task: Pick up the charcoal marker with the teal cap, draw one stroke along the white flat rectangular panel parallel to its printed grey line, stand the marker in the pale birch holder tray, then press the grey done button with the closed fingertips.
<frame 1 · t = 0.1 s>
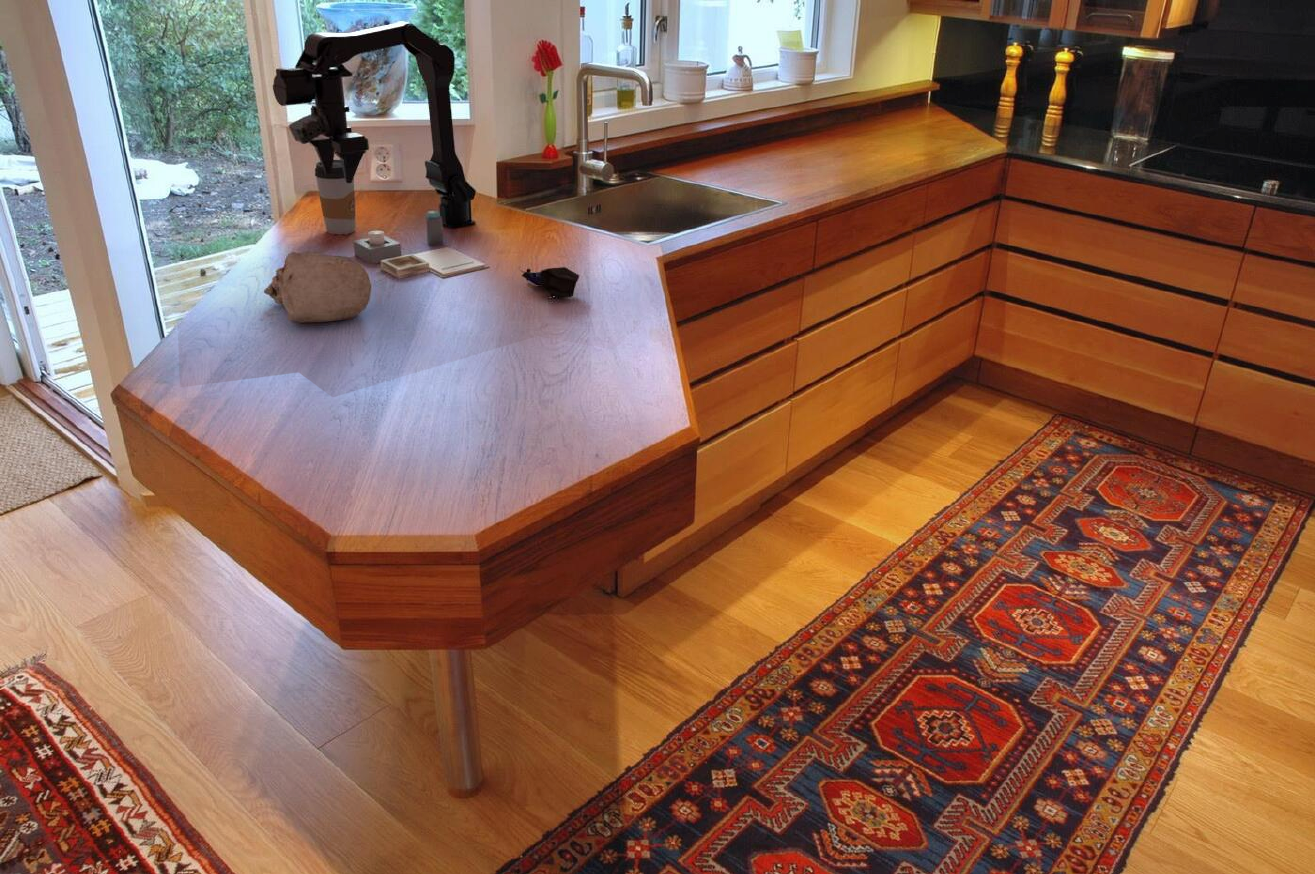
hand: (338, 178, 210), 15 cm above the counter, tool pointing down, fingers open, 9 cm apart
marker: (435, 244, 221), on the counter
decorative skull: (321, 314, 184), on the counter
done button: (376, 240, 210), point 3 cm above the counter, slide at 0.0 cm
button housing: (378, 256, 212), on the counter
holder tray: (405, 270, 205), on the counter
white flat rectangular panel: (446, 262, 210), on the counter
coffee cup: (341, 231, 226), on the counter
toy: (549, 293, 198), on the counter
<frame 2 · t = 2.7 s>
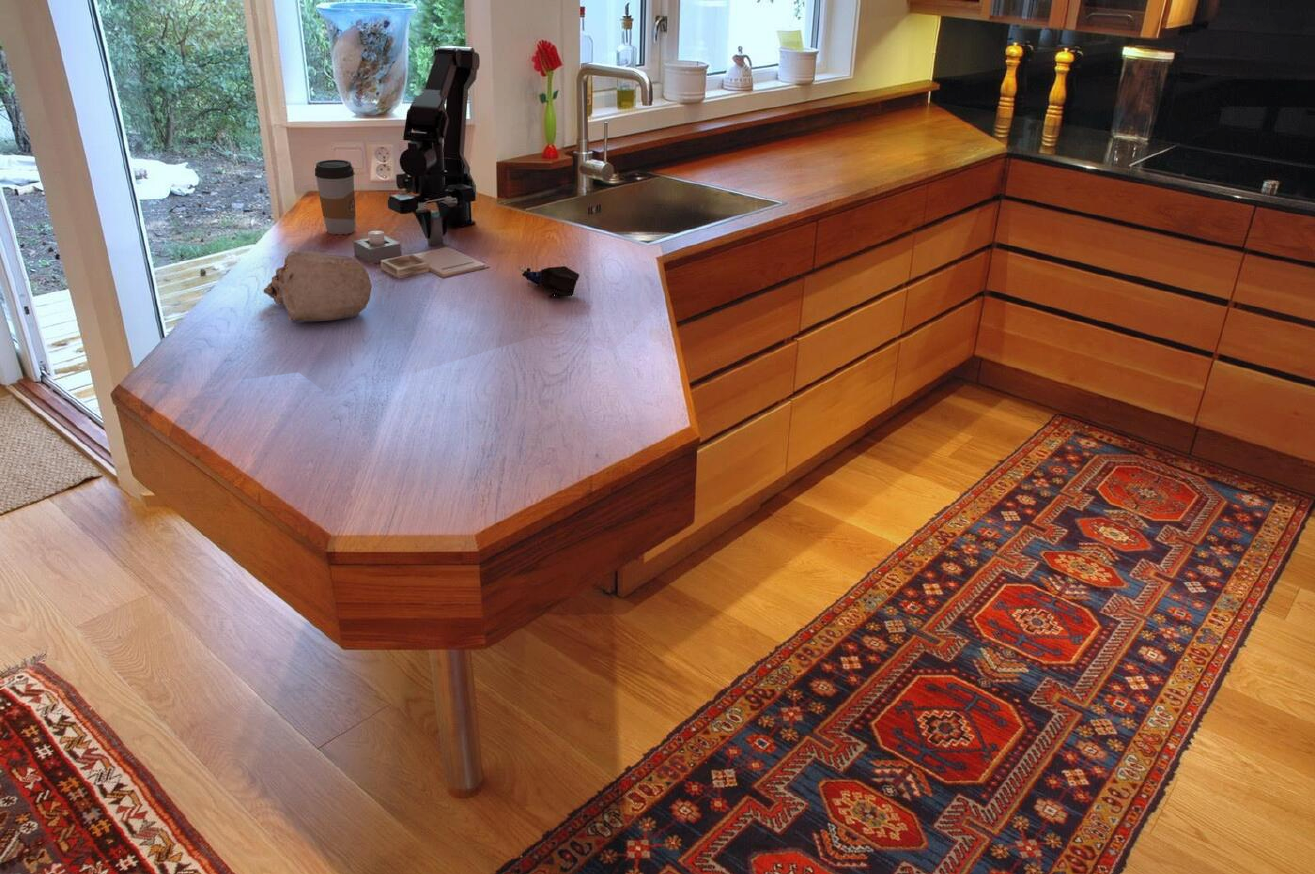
hand: (435, 237, 220), 2 cm above the counter, tool pointing down, fingers closed on marker, 3 cm apart
marker: (435, 244, 221), on the counter, touching gripper
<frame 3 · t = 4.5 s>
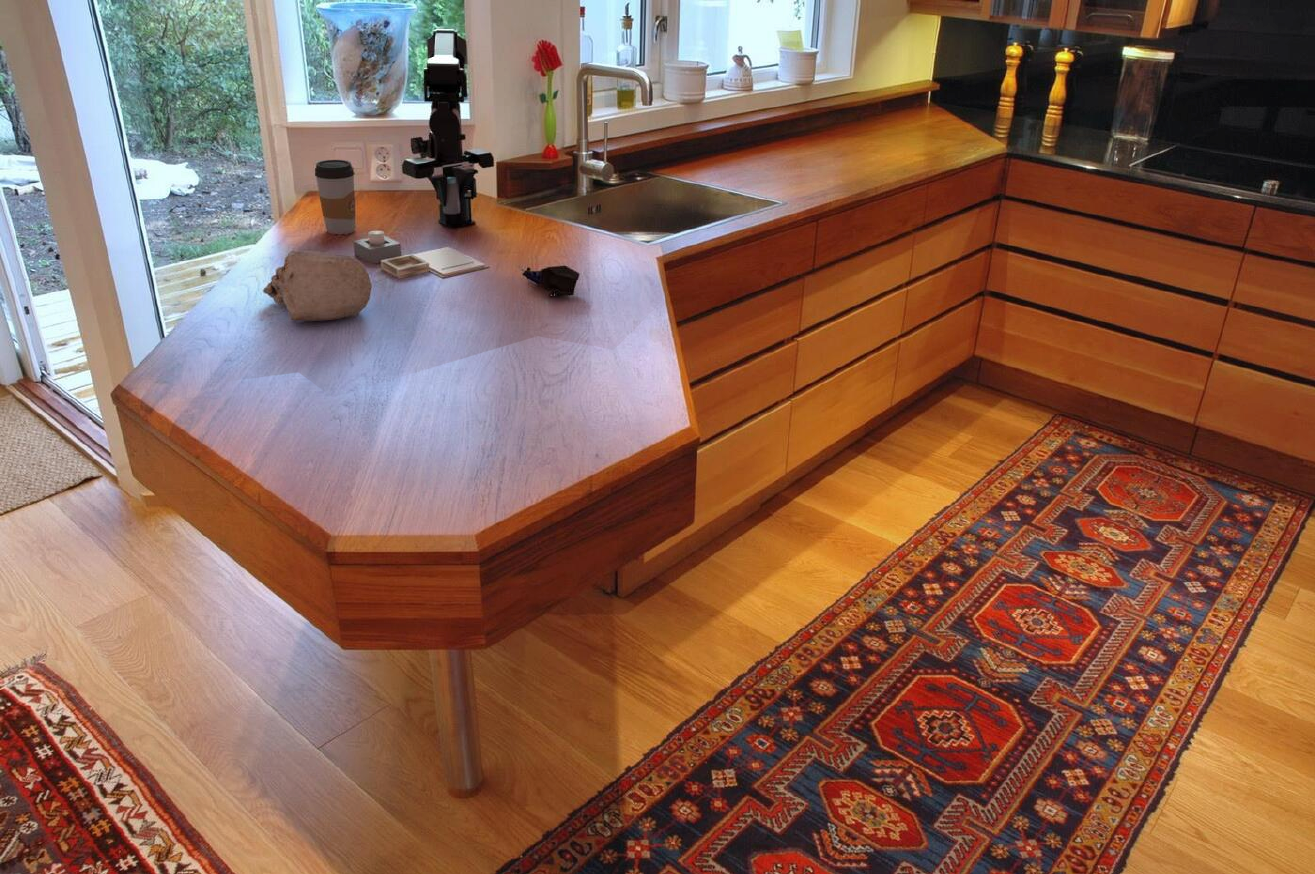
hand: (451, 204, 209), 11 cm above the counter, tool pointing down, fingers closed on marker, 3 cm apart
marker: (451, 212, 210), point 9 cm above the counter, touching gripper
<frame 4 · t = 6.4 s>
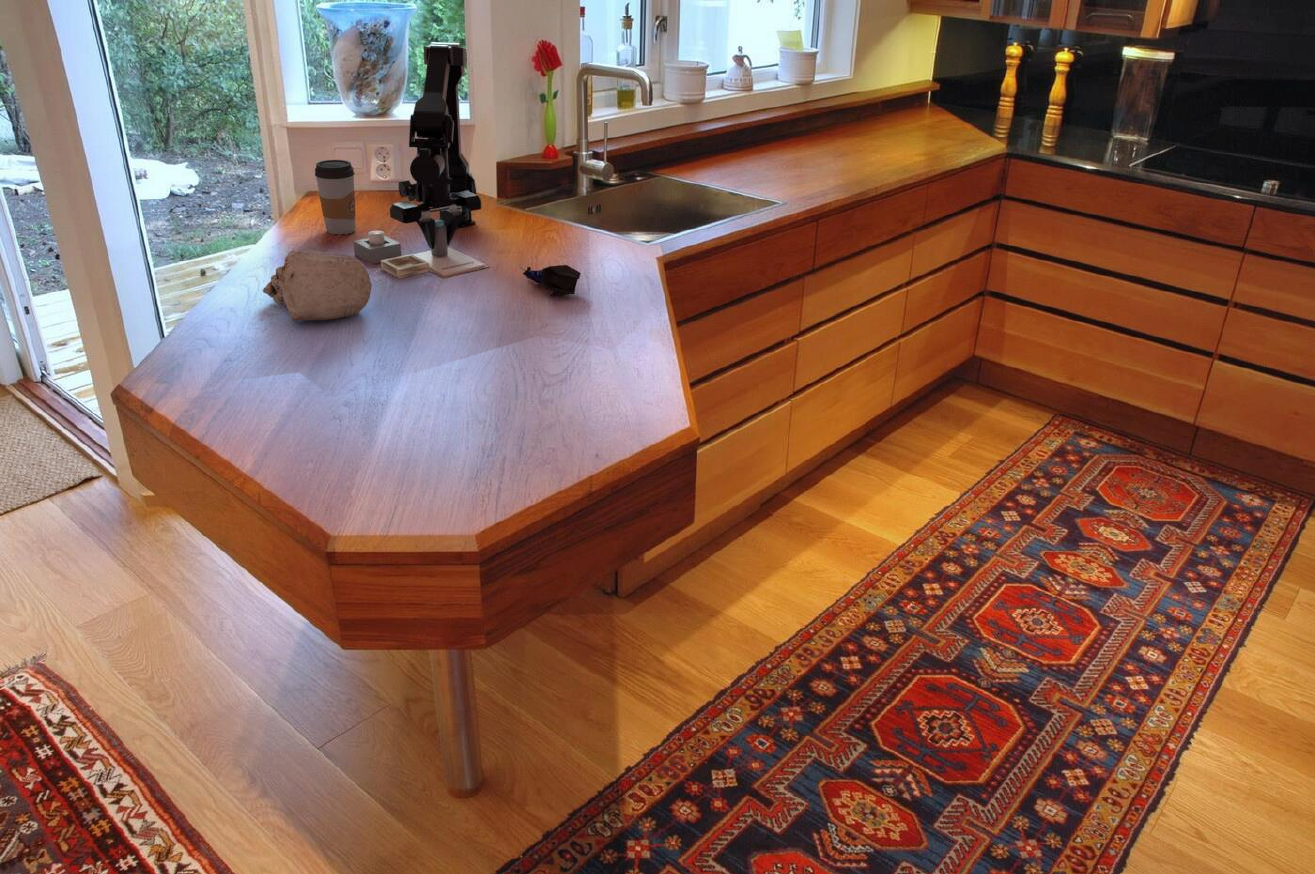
hand: (439, 247, 211), 3 cm above the counter, tool pointing down, fingers closed on marker, 3 cm apart
marker: (439, 254, 211), point 1 cm above the counter, touching gripper
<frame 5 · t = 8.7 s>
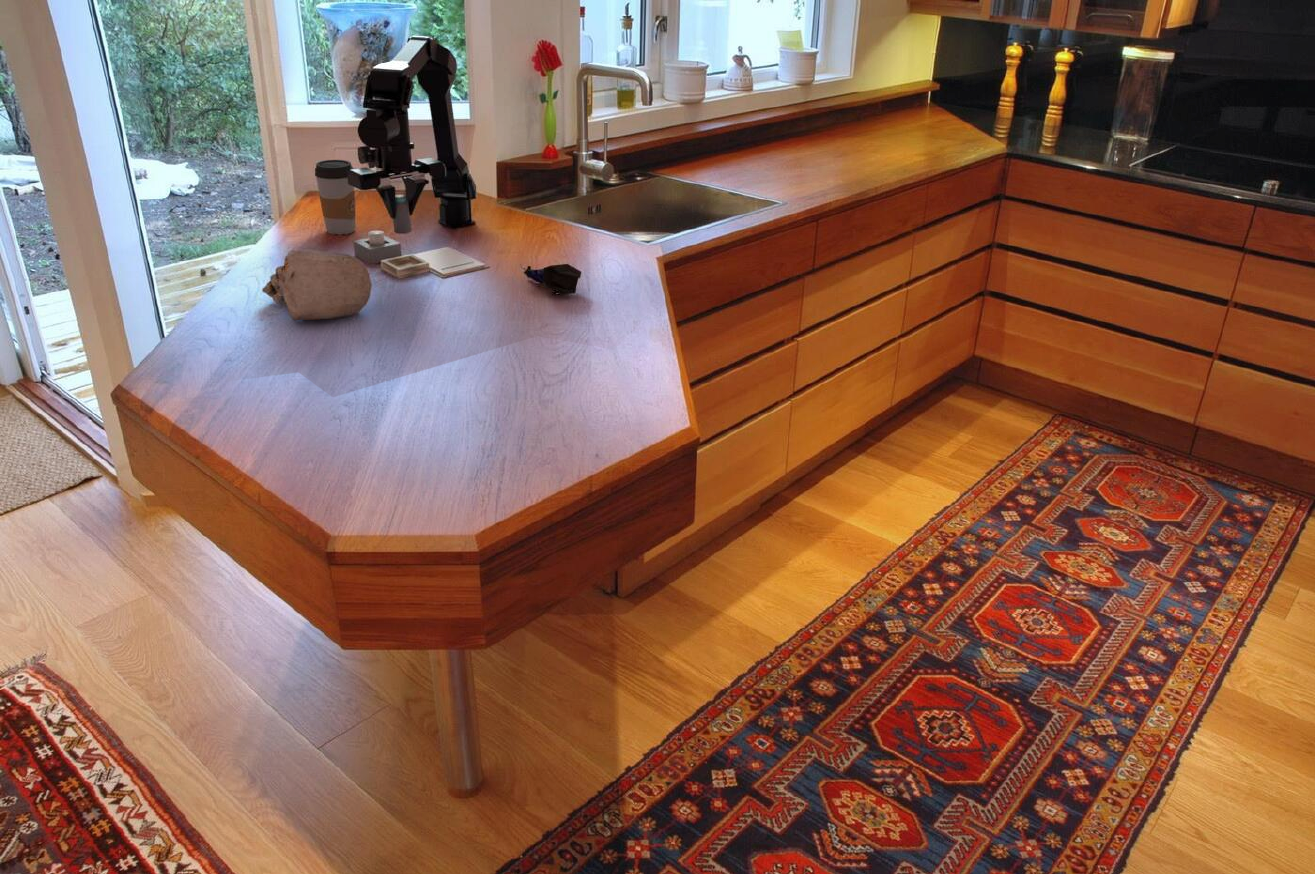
hand: (401, 216, 200), 11 cm above the counter, tool pointing down, fingers closed on marker, 3 cm apart
marker: (403, 231, 201), point 8 cm above the counter, touching gripper
when the fingers open (3 cm above the counter, at t = 10.3 s): marker stays where it is, resting on holder tray.
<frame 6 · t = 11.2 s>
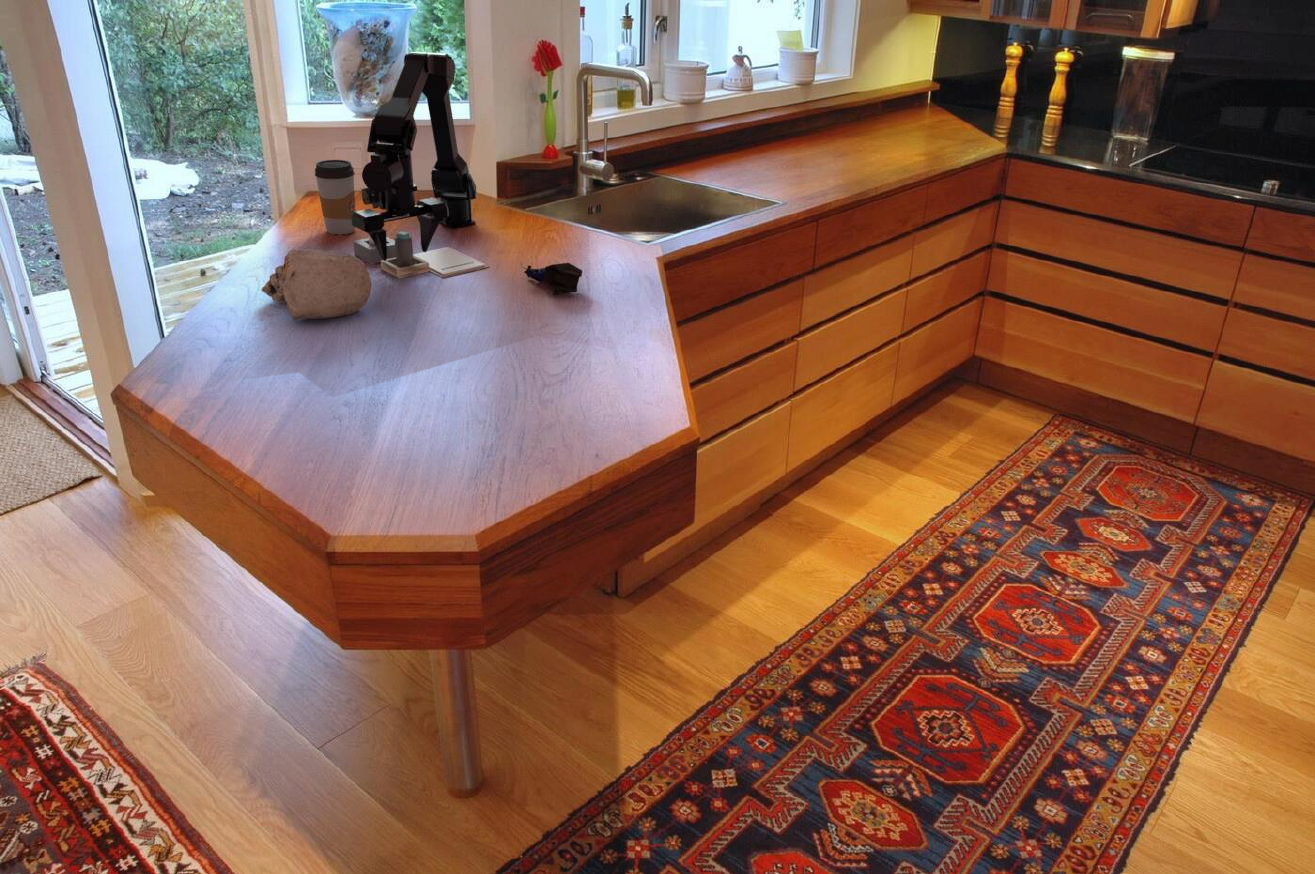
hand: (404, 256, 204), 3 cm above the counter, tool pointing down, fingers open, 9 cm apart
marker: (405, 267, 205), point 1 cm above the counter, touching holder tray
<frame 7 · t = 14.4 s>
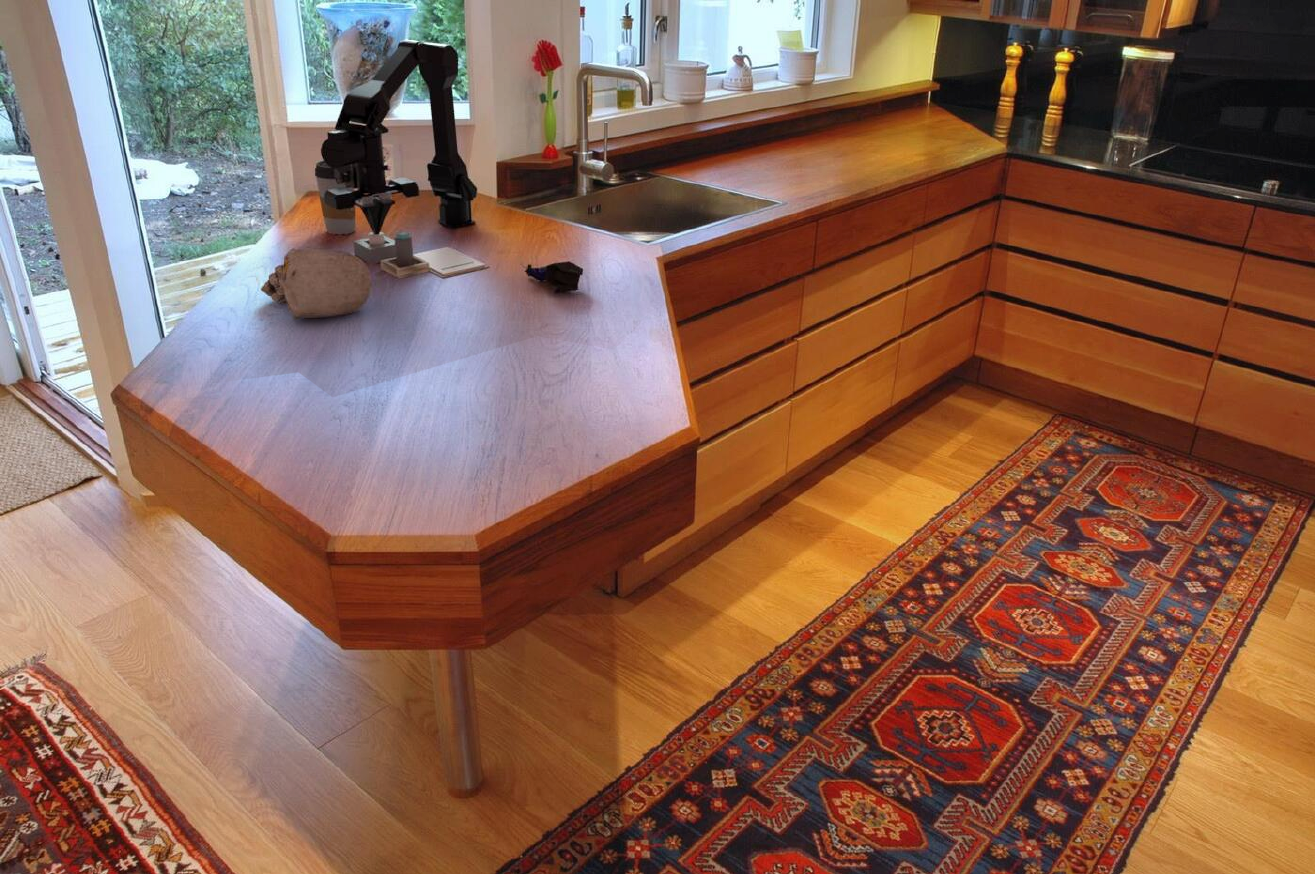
hand: (376, 234, 210), 5 cm above the counter, tool pointing down, fingers closed, pressing on done button
done button: (376, 241, 210), point 3 cm above the counter, slide at 0.2 cm, touching gripper
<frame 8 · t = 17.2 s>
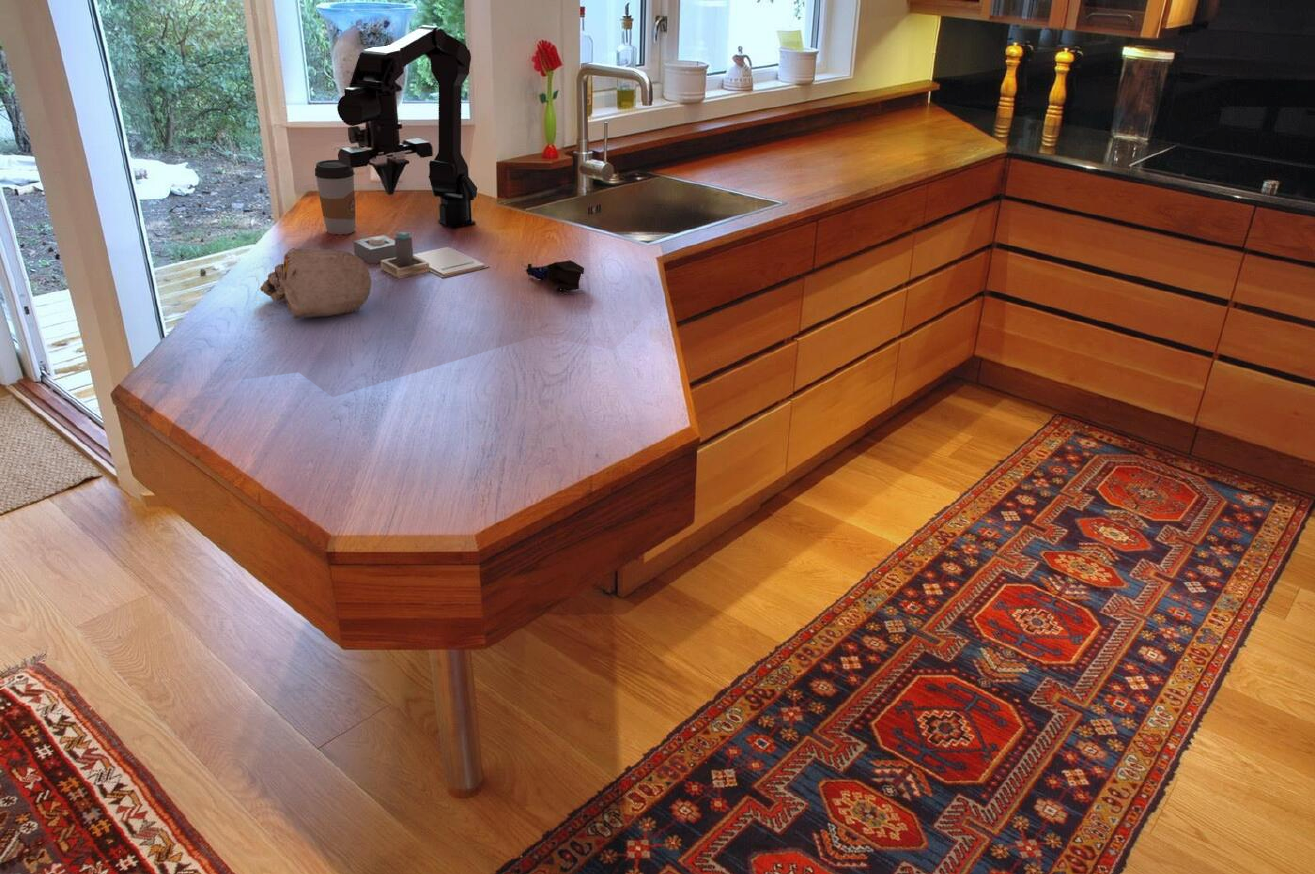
hand: (390, 194, 208), 12 cm above the counter, tool pointing down, fingers closed
done button: (377, 246, 211), point 2 cm above the counter, slide at 1.3 cm
at the end: marker 0.1 cm off-centre on the holder tray, point 0.6 cm above the holder tray's base; marker tilted 0°; done button slide at 1.3 cm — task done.
